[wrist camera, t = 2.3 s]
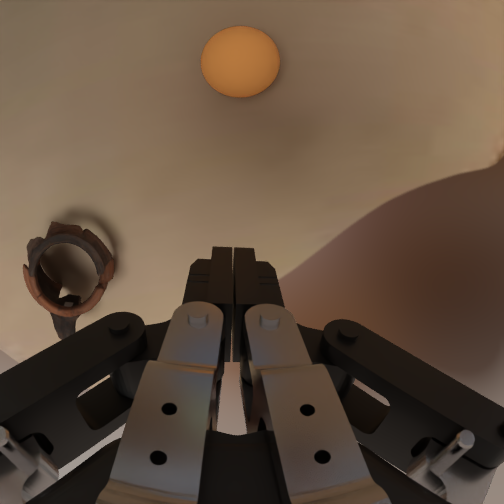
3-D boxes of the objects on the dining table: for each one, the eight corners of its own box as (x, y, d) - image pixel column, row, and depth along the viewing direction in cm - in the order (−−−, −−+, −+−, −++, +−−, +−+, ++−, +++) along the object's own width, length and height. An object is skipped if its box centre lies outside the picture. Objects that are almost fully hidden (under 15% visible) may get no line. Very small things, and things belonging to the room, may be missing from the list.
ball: (201, 97, 21) (193, 94, 17) (207, 34, 19) (200, 15, 14) (271, 101, 22) (282, 99, 17) (276, 39, 20) (289, 21, 15)
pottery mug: (27, 217, 25) (11, 227, 18) (108, 213, 30) (117, 221, 23) (40, 323, 27) (33, 360, 21) (114, 317, 32) (126, 351, 26)
